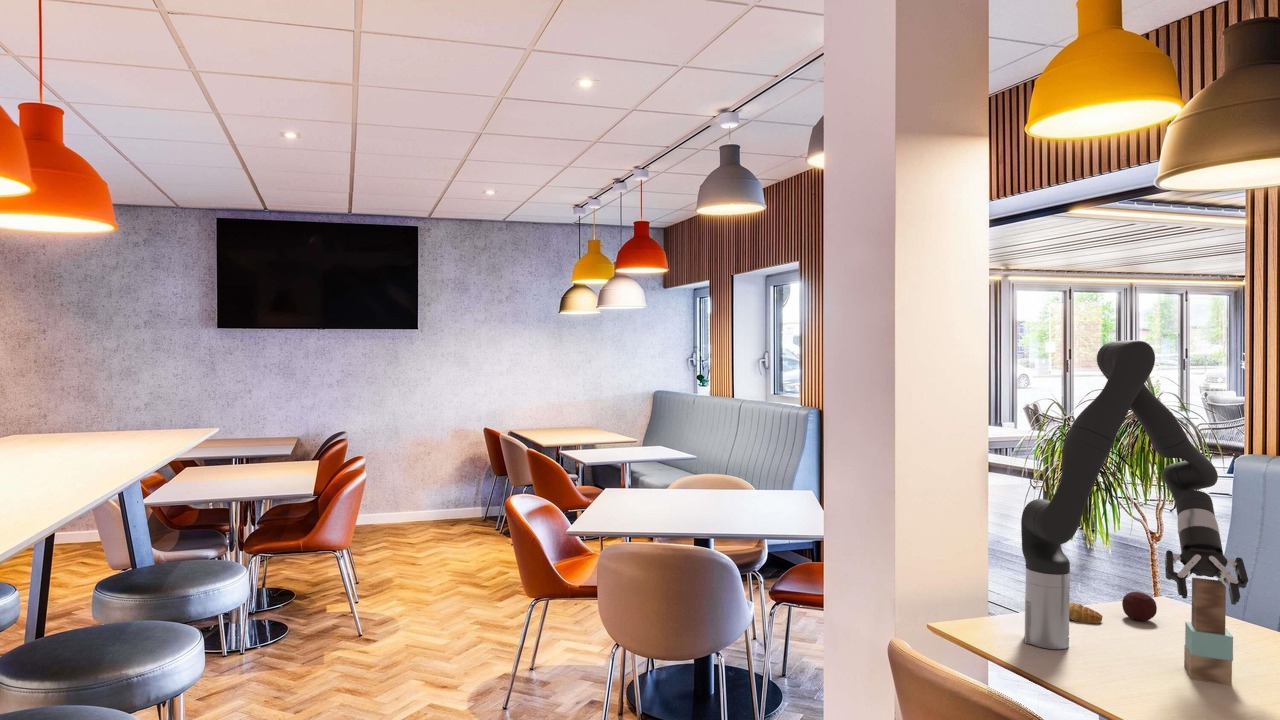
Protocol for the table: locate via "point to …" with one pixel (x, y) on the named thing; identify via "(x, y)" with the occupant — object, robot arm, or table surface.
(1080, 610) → the pastry
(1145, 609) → the potato
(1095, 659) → the table surface
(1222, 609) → the post
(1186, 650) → the tower base
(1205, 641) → the tower top
